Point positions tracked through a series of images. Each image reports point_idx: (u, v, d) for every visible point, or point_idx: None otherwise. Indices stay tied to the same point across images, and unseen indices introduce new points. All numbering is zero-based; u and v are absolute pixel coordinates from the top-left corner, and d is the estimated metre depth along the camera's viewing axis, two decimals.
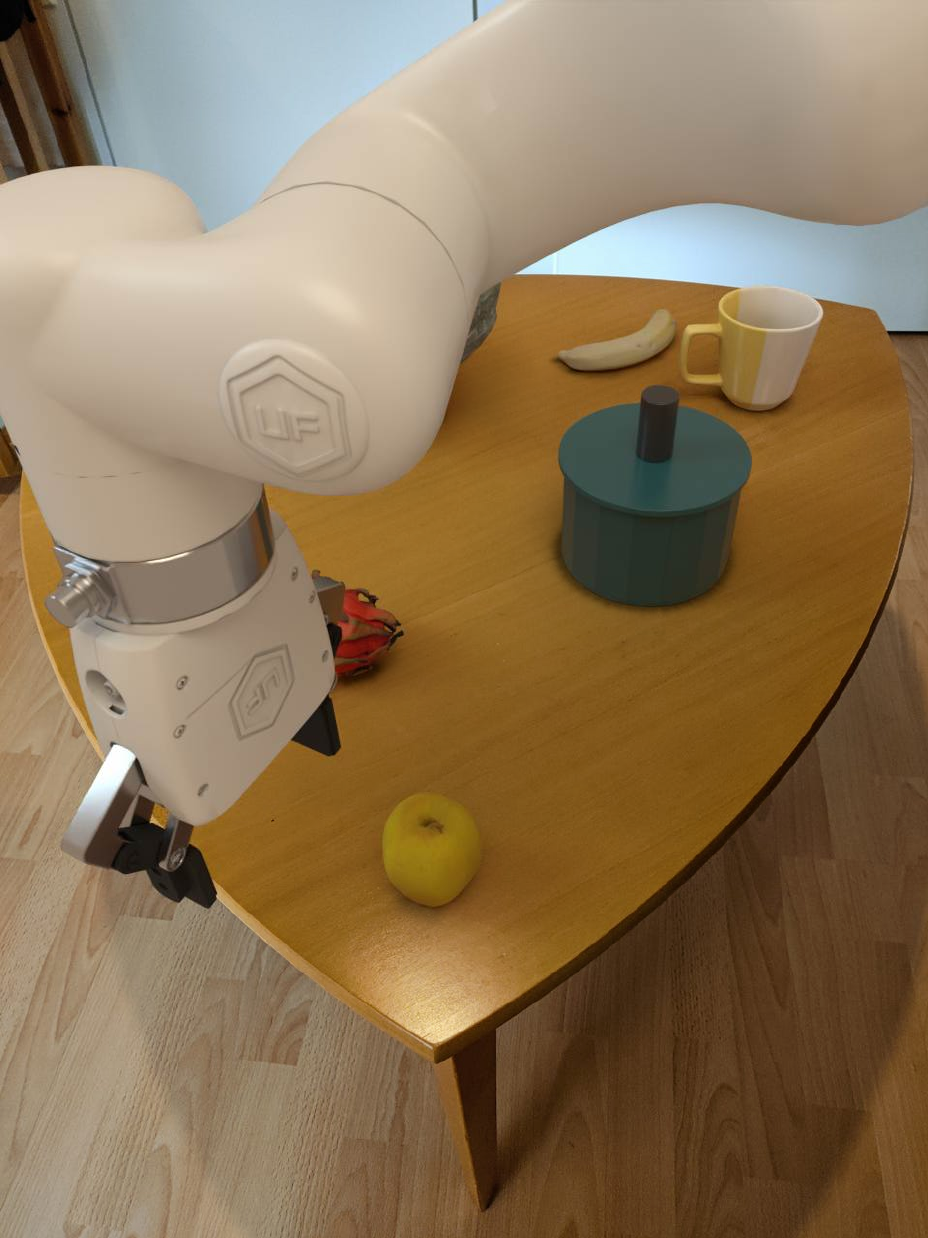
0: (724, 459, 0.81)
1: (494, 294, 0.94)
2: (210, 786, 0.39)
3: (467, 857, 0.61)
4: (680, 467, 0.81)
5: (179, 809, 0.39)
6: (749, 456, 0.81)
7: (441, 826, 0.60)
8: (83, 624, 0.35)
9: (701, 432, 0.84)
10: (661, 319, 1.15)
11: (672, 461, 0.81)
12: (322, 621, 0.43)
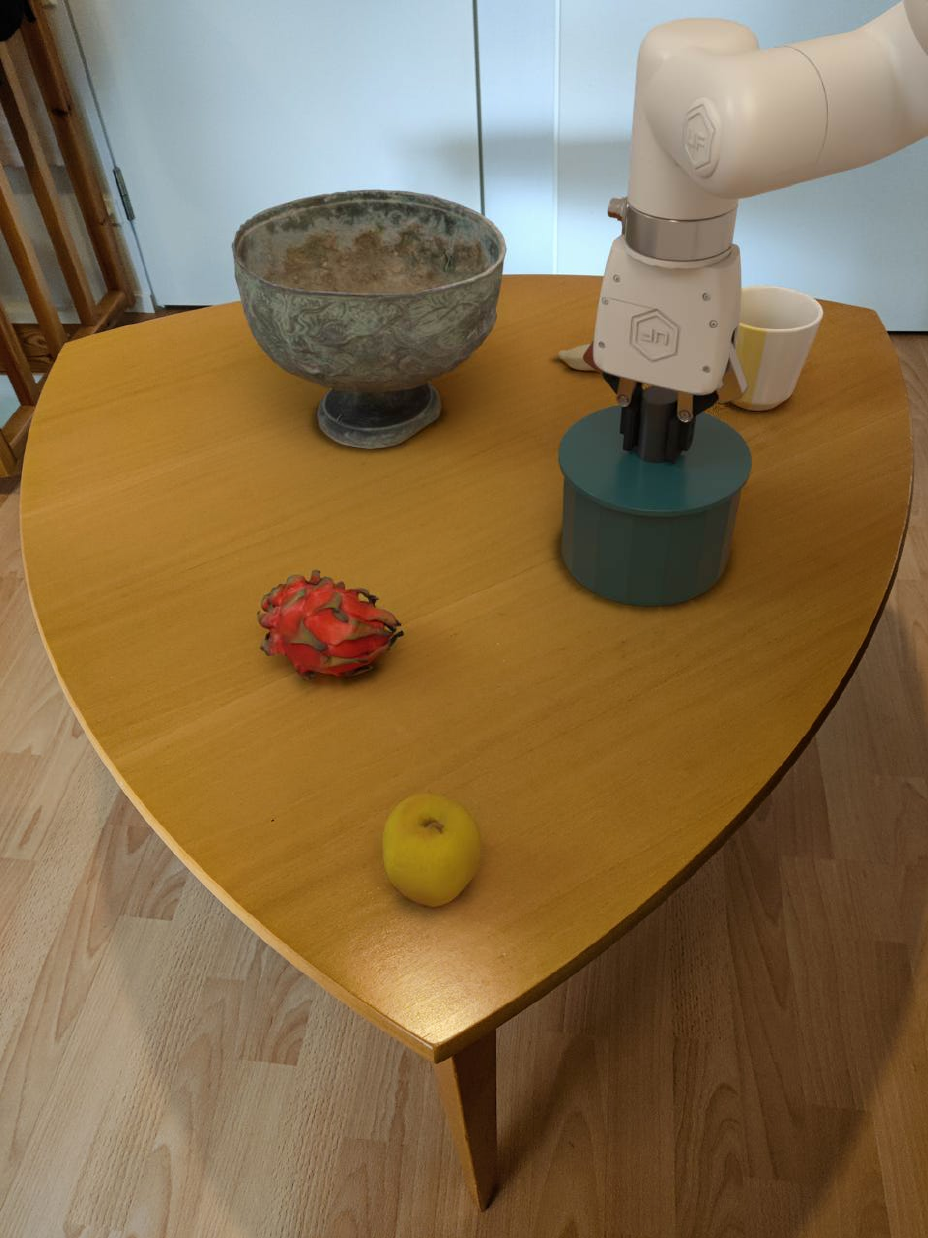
0: (724, 459, 0.81)
1: (494, 294, 0.94)
2: (606, 348, 0.75)
3: (467, 857, 0.61)
4: (680, 467, 0.81)
5: None
6: (749, 456, 0.81)
7: (441, 826, 0.60)
8: None
9: (701, 432, 0.84)
10: None
11: None
12: (714, 347, 0.71)
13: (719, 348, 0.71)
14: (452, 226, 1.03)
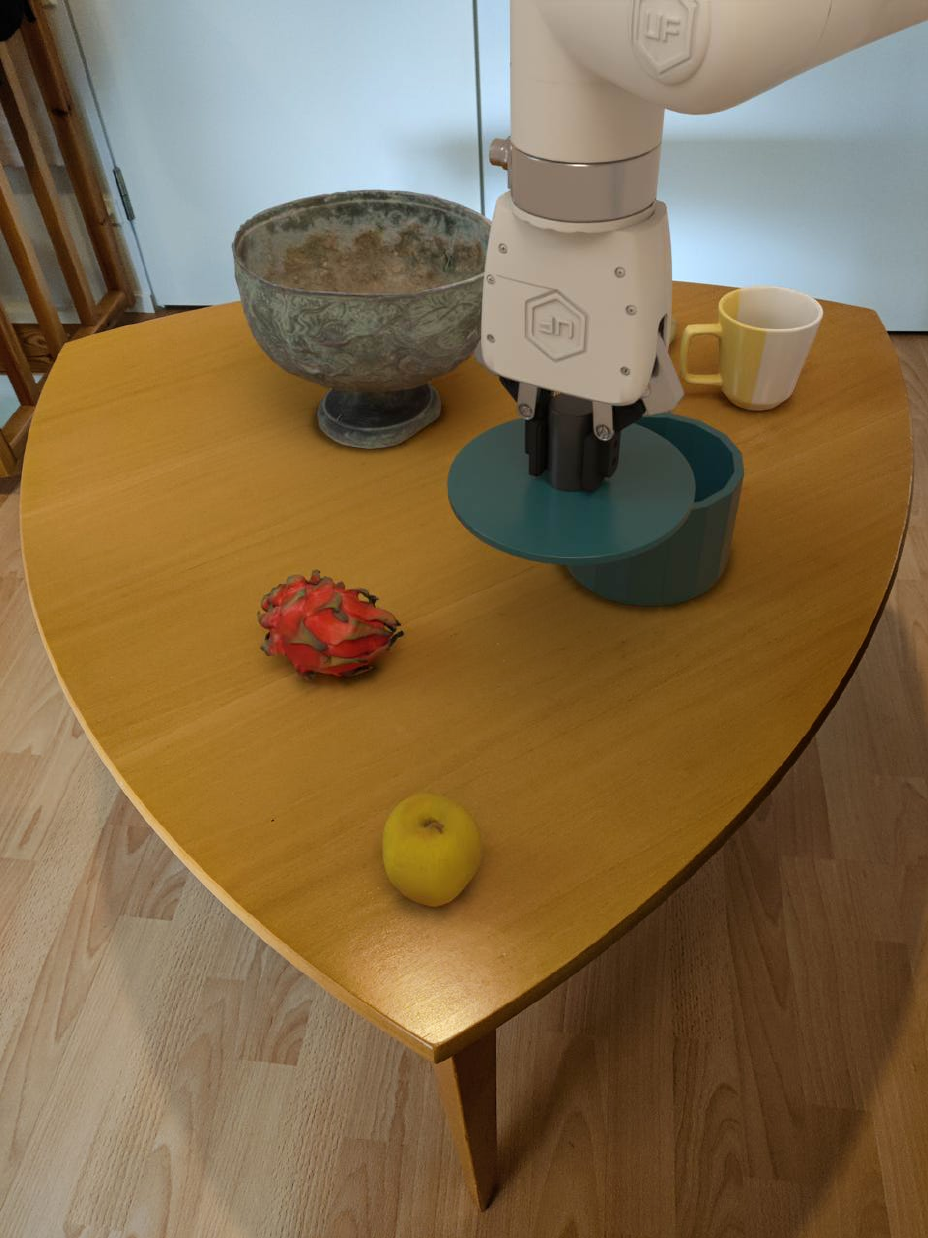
0: (659, 487, 0.63)
1: None
2: (496, 342, 0.57)
3: (467, 857, 0.61)
4: (602, 498, 0.62)
5: None
6: (692, 483, 0.63)
7: (441, 826, 0.60)
8: None
9: (633, 451, 0.66)
10: None
11: None
12: (633, 341, 0.52)
13: (640, 343, 0.52)
14: (452, 226, 1.03)
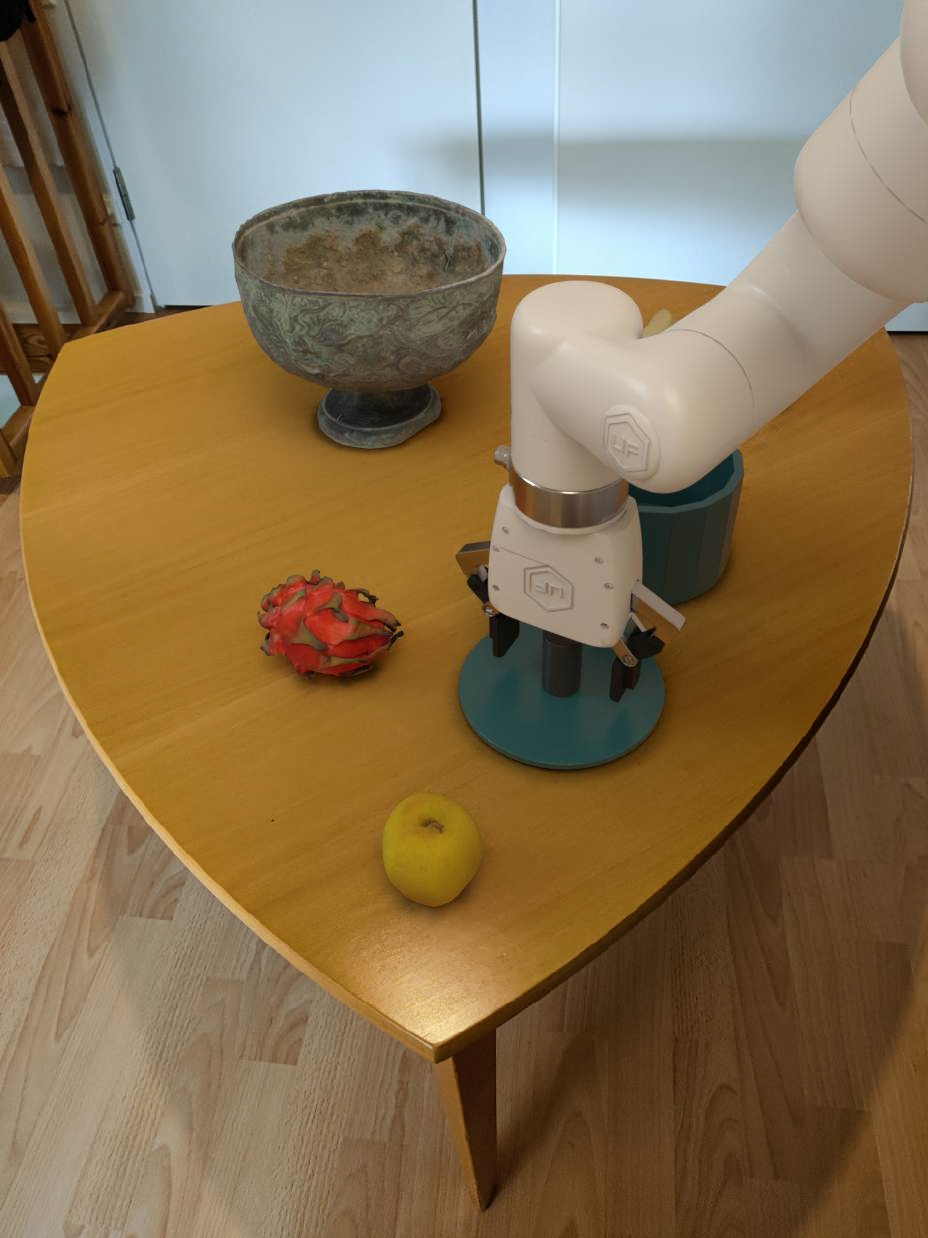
0: (635, 693, 0.76)
1: (494, 294, 0.94)
2: (500, 592, 0.70)
3: (467, 857, 0.61)
4: (587, 704, 0.75)
5: None
6: (662, 689, 0.76)
7: (441, 826, 0.60)
8: None
9: (614, 656, 0.79)
10: (662, 319, 1.15)
11: (579, 695, 0.76)
12: (611, 607, 0.65)
13: (616, 608, 0.65)
14: (452, 226, 1.03)
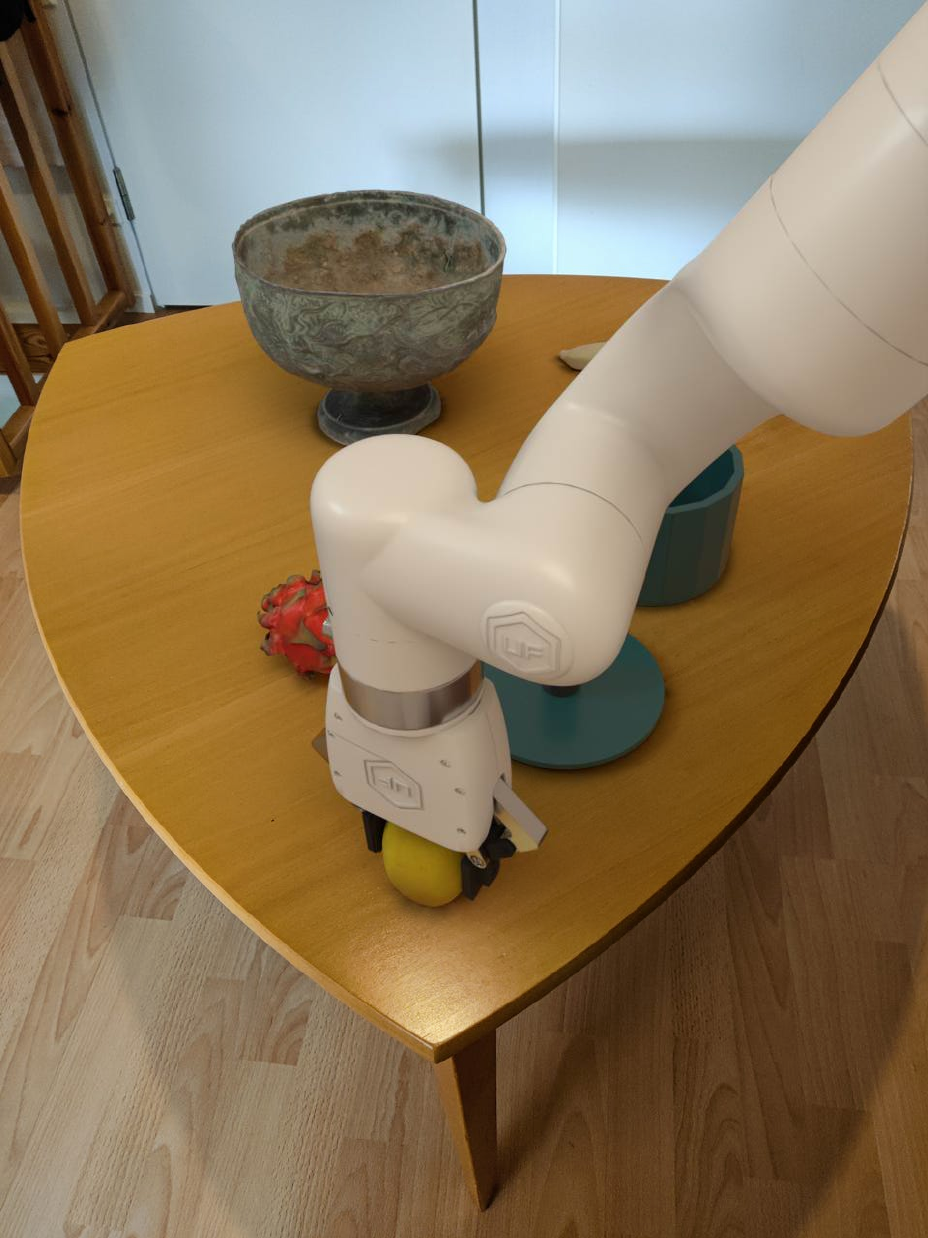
0: (635, 693, 0.76)
1: (494, 294, 0.94)
2: (343, 778, 0.57)
3: None
4: (587, 704, 0.75)
5: None
6: (662, 689, 0.76)
7: None
8: None
9: None
10: None
11: (579, 695, 0.76)
12: (466, 813, 0.53)
13: (473, 814, 0.53)
14: (452, 226, 1.03)
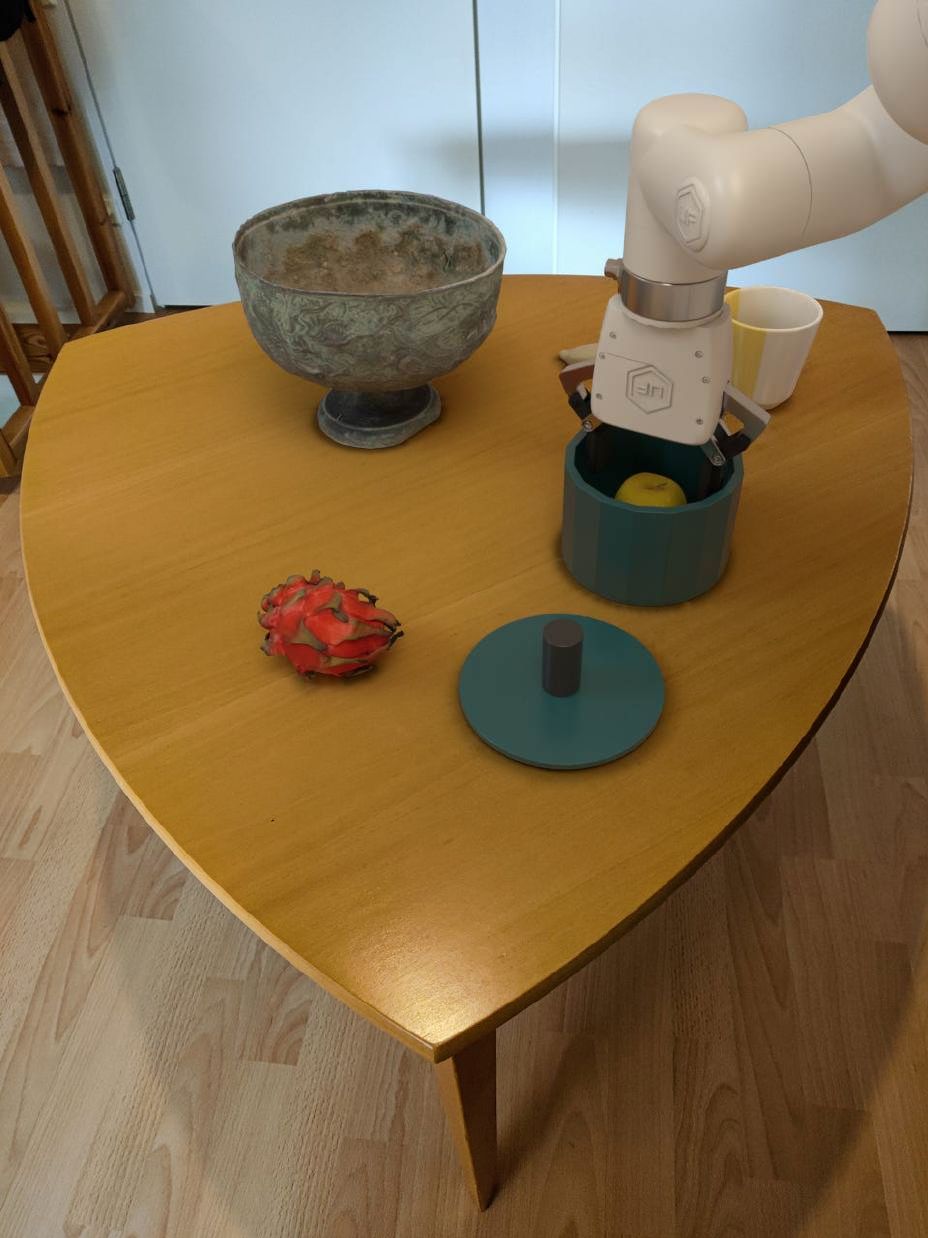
0: (635, 693, 0.76)
1: (494, 294, 0.94)
2: (603, 399, 0.78)
3: None
4: (587, 704, 0.75)
5: None
6: (662, 689, 0.76)
7: (665, 483, 0.83)
8: None
9: (614, 656, 0.79)
10: None
11: (579, 695, 0.76)
12: (707, 401, 0.74)
13: (711, 402, 0.74)
14: (452, 226, 1.03)
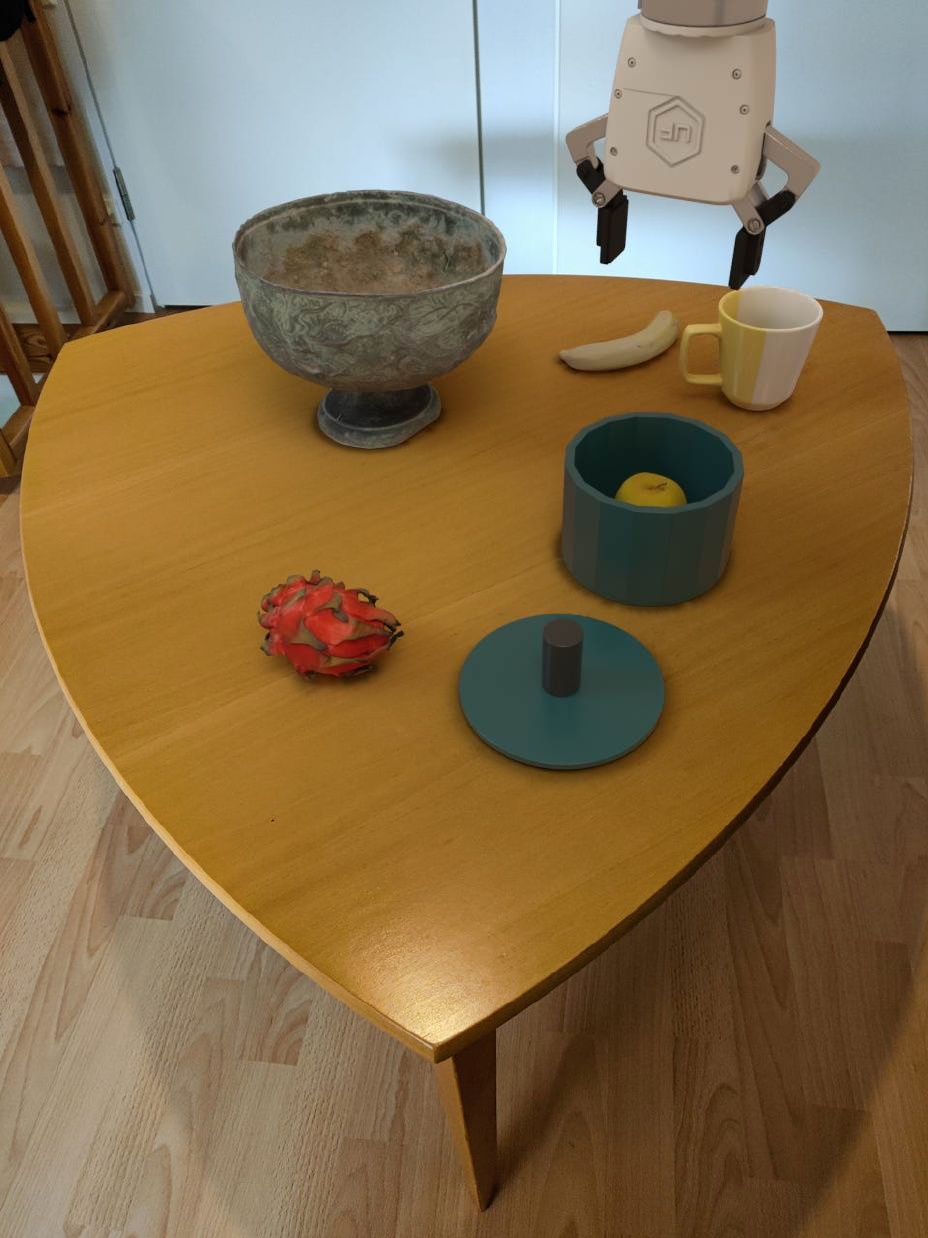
0: (635, 693, 0.76)
1: (494, 294, 0.94)
2: (618, 154, 0.66)
3: None
4: (587, 704, 0.75)
5: None
6: (662, 689, 0.76)
7: (665, 483, 0.83)
8: None
9: (614, 656, 0.79)
10: (663, 320, 1.14)
11: (579, 695, 0.76)
12: (744, 139, 0.61)
13: (750, 141, 0.61)
14: (453, 226, 1.03)
